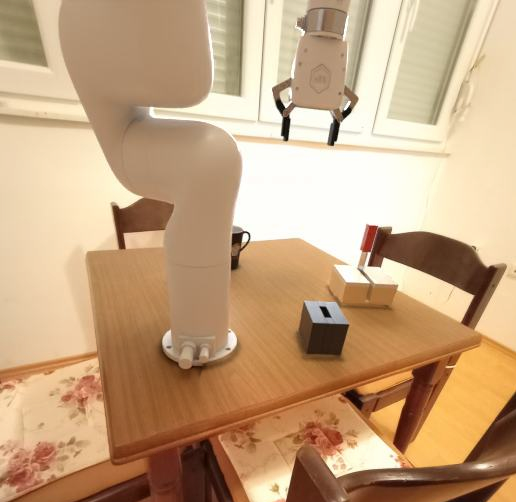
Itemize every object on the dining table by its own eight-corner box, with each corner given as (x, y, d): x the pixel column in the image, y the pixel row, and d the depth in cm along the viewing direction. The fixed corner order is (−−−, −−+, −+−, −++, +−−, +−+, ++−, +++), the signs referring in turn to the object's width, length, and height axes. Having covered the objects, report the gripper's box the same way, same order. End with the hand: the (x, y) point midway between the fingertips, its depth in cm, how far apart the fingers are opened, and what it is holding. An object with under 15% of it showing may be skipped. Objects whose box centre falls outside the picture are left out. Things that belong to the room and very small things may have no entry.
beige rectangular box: (390, 308, 72) (398, 284, 69) (340, 306, 71) (346, 281, 68) (372, 289, 81) (379, 267, 78) (328, 287, 80) (333, 264, 77)
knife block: (339, 359, 54) (349, 324, 50) (305, 358, 53) (312, 322, 49) (328, 334, 60) (336, 302, 56) (297, 333, 60) (303, 300, 56)
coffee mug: (213, 271, 82) (213, 232, 77) (208, 260, 89) (208, 224, 84) (255, 270, 85) (258, 233, 80) (248, 260, 92) (250, 225, 87)
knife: (361, 289, 77) (379, 226, 69) (353, 288, 77) (370, 225, 68) (357, 284, 79) (374, 223, 71) (349, 284, 79) (365, 222, 71)
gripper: (279, 17, 52) (268, 139, 61) (378, 31, 54) (353, 148, 63) (274, 29, 58) (265, 139, 68) (363, 41, 60) (342, 147, 69)
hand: (308, 143), depth 65 cm, fingers open, 9 cm apart
